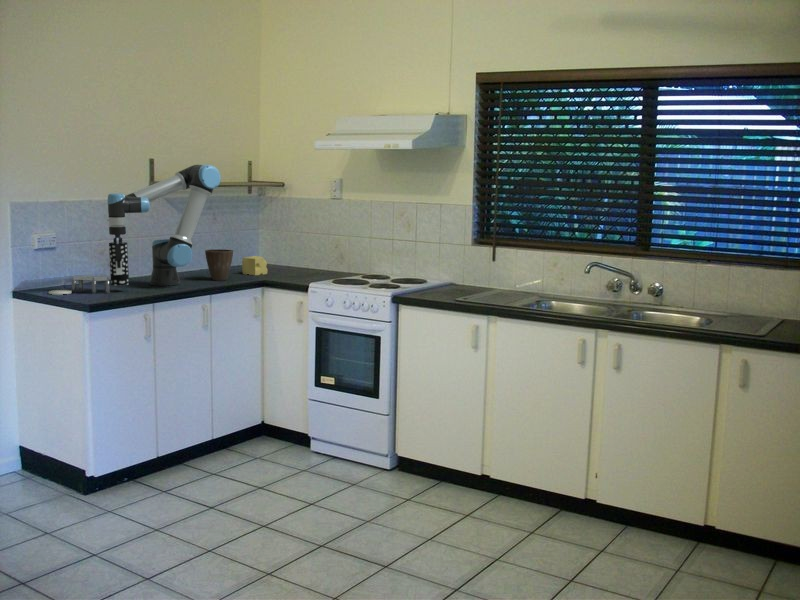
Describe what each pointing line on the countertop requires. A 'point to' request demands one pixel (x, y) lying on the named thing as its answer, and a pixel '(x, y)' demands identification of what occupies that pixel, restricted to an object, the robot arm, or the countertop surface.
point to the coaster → (60, 292)
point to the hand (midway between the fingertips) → (119, 273)
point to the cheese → (254, 265)
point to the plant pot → (219, 263)
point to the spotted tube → (124, 278)
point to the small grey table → (93, 279)
